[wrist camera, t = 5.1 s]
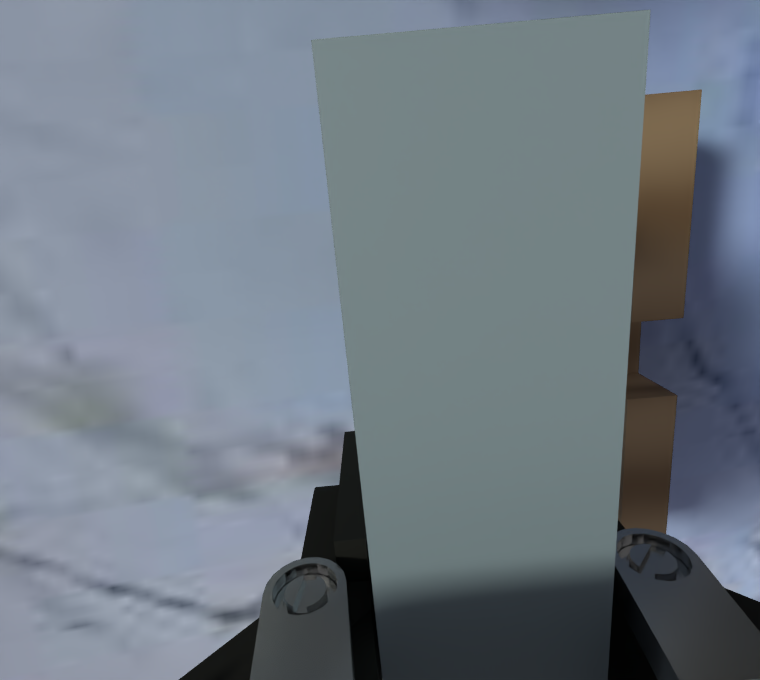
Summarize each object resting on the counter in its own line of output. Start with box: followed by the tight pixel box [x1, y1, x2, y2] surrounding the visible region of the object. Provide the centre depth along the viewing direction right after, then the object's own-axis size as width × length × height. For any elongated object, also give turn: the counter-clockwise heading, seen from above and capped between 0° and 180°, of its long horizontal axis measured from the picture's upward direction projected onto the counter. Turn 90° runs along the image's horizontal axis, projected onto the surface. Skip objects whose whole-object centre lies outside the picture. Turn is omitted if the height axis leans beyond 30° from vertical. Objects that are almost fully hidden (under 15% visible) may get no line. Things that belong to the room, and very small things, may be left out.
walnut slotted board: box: [618, 90, 702, 534], centre depth 26 cm, size 24×2×7 cm, turn 5°
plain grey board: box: [311, 10, 650, 680], centre depth 12 cm, size 16×3×12 cm, turn 5°
